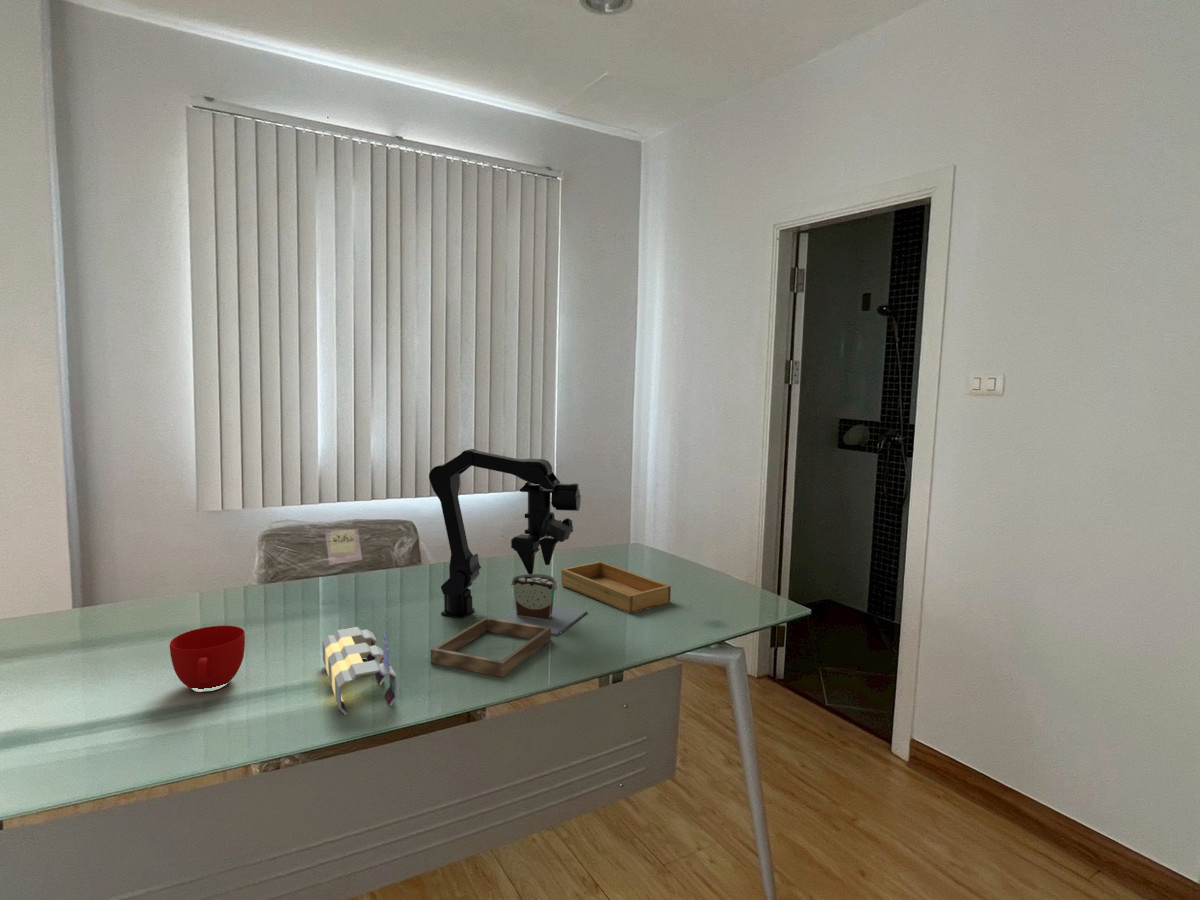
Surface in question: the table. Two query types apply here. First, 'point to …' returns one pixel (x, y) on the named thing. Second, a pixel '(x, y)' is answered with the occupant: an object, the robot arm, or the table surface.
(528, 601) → the food container
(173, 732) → the table surface
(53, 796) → the table surface
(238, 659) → the ceramic cup
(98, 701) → the table surface
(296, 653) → the table surface
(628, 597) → the tray
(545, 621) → the slate mat
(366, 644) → the jagged striped arch
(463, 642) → the walnut frame
